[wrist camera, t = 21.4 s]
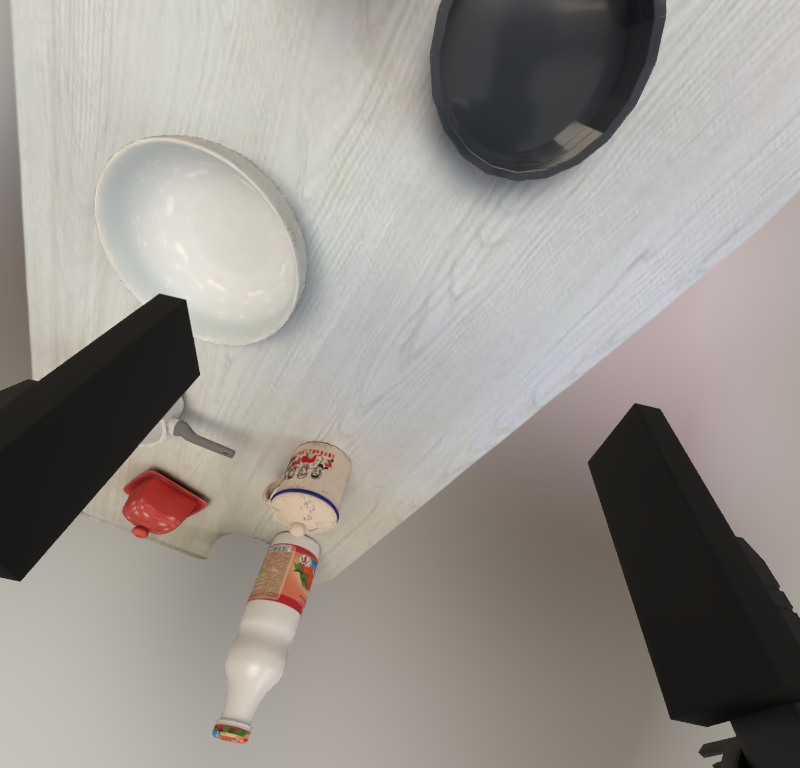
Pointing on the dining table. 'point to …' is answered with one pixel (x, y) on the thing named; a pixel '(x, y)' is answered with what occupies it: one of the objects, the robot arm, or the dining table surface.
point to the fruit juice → (266, 631)
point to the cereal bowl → (202, 235)
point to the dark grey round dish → (539, 78)
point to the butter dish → (158, 504)
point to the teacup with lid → (310, 489)
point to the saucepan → (181, 432)
